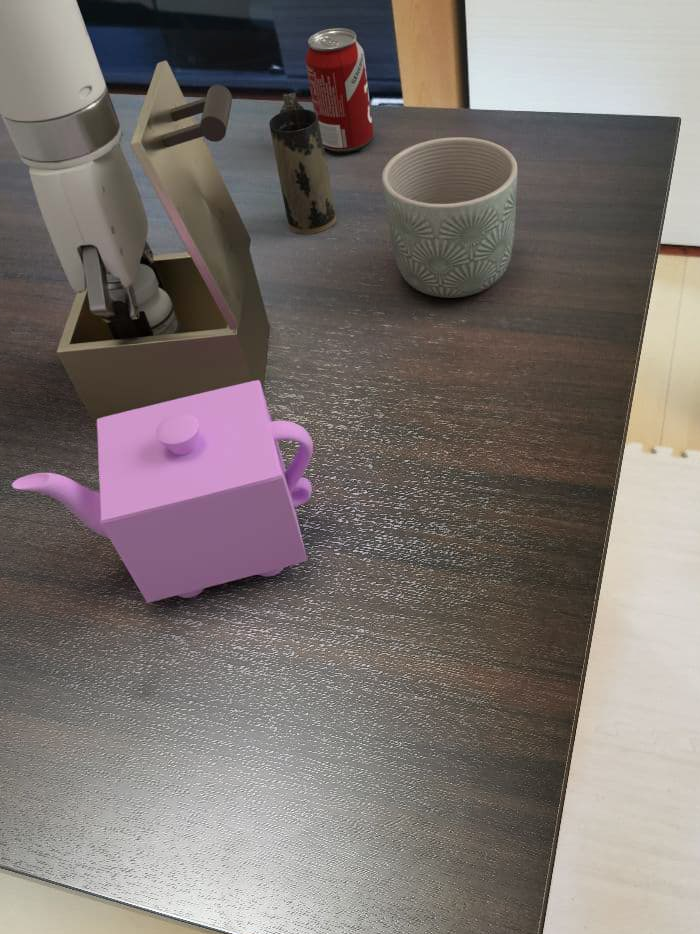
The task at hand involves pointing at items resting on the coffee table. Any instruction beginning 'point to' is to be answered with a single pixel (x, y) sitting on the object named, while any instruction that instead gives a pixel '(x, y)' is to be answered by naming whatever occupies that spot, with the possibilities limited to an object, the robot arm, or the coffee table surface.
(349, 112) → the soda can
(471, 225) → the planter
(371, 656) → the coffee table surface
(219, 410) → the teapot
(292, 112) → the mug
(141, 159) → the lid
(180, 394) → the tan open box
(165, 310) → the pill bottle
